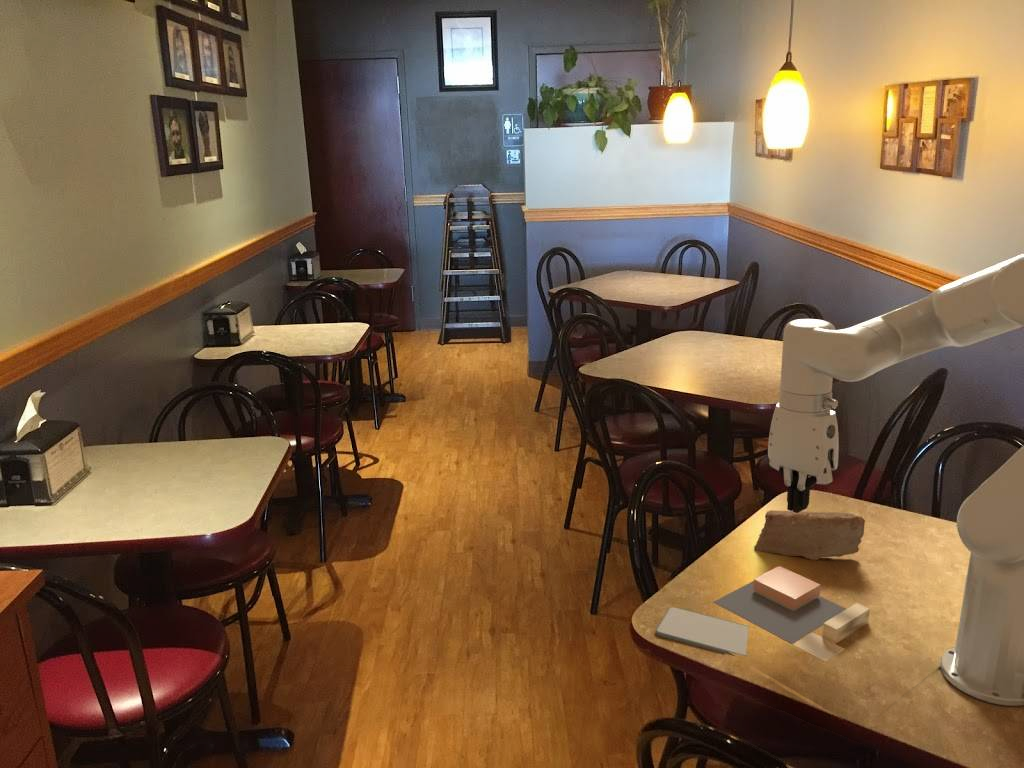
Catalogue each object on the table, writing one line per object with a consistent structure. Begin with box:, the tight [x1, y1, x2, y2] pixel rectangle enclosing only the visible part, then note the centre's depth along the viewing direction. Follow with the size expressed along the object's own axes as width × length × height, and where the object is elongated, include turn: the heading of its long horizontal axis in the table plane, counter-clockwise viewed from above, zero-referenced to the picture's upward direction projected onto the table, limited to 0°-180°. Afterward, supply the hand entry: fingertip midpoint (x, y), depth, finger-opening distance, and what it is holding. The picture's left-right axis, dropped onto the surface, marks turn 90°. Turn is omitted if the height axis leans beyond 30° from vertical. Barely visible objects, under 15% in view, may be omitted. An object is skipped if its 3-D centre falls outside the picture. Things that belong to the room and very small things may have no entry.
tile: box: [753, 565, 821, 612], centre depth 139 cm, size 2×7×8 cm
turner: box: [792, 602, 871, 663], centre depth 128 cm, size 14×6×3 cm, turn 127°
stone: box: [753, 509, 866, 562], centre depth 150 cm, size 19×10×4 cm
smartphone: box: [655, 606, 757, 657], centre depth 130 cm, size 8×1×15 cm
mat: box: [713, 580, 847, 645], centre depth 137 cm, size 15×15×1 cm
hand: (797, 509), depth 134 cm, fingers closed
